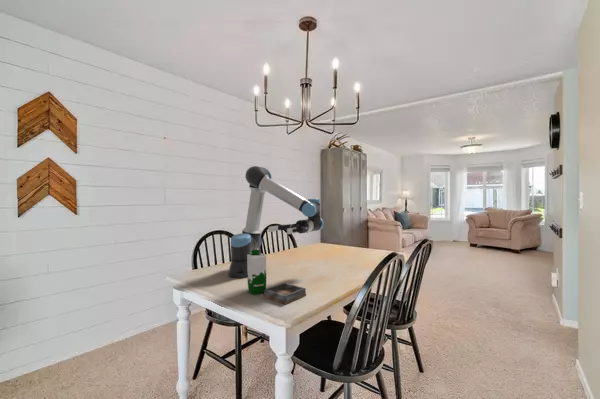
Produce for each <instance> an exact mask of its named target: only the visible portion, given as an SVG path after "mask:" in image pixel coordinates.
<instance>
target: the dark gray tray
mask: <svg viewBox="0 0 600 399" xmlns="http://www.w3.org/2000/svg"><path fill="white" fill-rule="evenodd" d="M306 291H307V290H306V288H305V287H302V286H298V285H295V284H292V283H287V282H283V283H279V284H277V285H274V286H271V287H268V288H266V289H265V290H264V293H263V298H265V299H267V300H271V301H274V302H276V303H281V304H282V305H287V304H290V303H292V302H294V301H298V300H299V299H301V298H304V297H306V296H307V293H306Z"/></svg>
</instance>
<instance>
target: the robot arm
mask: <svg viewBox="0 0 600 399" xmlns="http://www.w3.org/2000/svg"><path fill="white" fill-rule="evenodd" d="M244 175H245V180H246V181H247V182H246V183H248V184H249V187H248V188H249V189H250V196H249V202H248V209H247V215H246V216H247V217H246V221H245V227H244V228H243V229H242V232H241V233H237V234H234V235H233V236H231V238H230V265H229V269H228V272H227V273H228V277H230V278H234V279H235V278H236V279H241V278H243V279H244V278H248V273H247V255H248V254H251V250H259V248H260V247H261V245H262V242H263V241H262V237H261V234H262V232H261V231H260V224H261V220H262V219H261V218H262V213H263V212H262V211H263V205H264V200H265V193H266V192H267V193H269V194H270V195H272V196H274V197H275V198H277V199H279V200H281V201H283V202H284V203H286V204H287V205H288V206H291V207H293V208H295V210H297V211H299V212H301V213H302V214H303V215H304V216H305V217H307V218H305V219H299V220H297V221H296V222H295V223H292V224H291V223H288V224H278V225H277V224H275V225H273V226H272V225H271V226H268V232H269V233H273V232H278V231H286V235H291V234H297V233H298V234H305V233H306V234H309V233H311V232H317V231H321V230H322V229H323V228H324V226H325V222H324V219H322V218H321V200H320V198H308V199H306V197H305V198H304V197H303V196H301V195H300V194H298V193H296V192H294V191H292V190H291V189H289V188H287V187H286V186H284V185H282V184H281V183H279V182H277V181H275V180H274V179H272V178H273V177H272V173H271V171H270V170H269V169H267V168H265V167H262V166H257V165H253V166H251V167H249V168H248V169H247V170H246V172H245V174H244Z"/></svg>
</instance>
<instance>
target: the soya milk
mask: <svg viewBox="0 0 600 399" xmlns="http://www.w3.org/2000/svg"><path fill="white" fill-rule="evenodd" d="M260 251H261V250H259V249H257V250H251V254H248V255H247V273H248V277H247V288H248V289H247V290H248V291H249V293H250V294H251V295H252V296H254V295H261V294H264V290H265V289H267V255H266V254H264V253H262V252H261V253H260Z"/></svg>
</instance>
